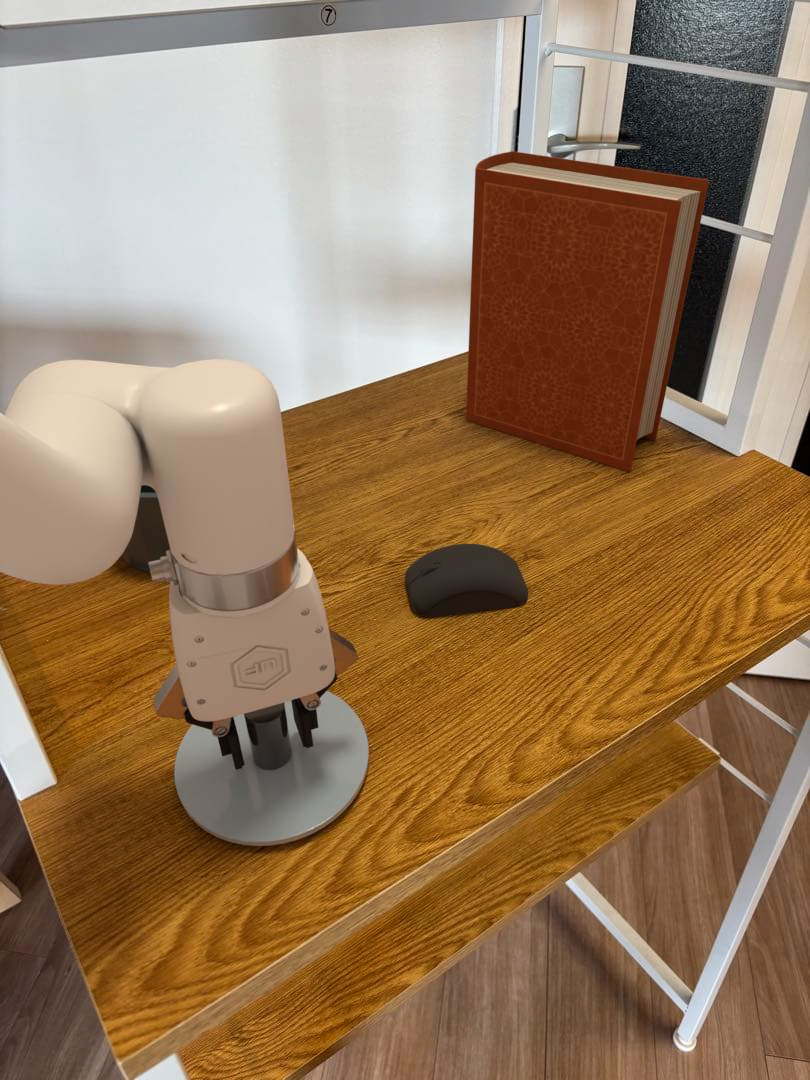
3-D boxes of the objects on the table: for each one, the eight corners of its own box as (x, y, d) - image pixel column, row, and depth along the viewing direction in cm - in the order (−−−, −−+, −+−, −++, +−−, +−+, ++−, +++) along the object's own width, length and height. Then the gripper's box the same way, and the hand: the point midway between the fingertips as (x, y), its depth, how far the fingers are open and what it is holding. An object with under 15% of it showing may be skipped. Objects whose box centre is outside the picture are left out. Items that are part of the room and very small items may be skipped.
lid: (194, 880, 57) (176, 824, 53) (164, 720, 68) (147, 664, 64) (396, 812, 61) (394, 755, 57) (337, 671, 72) (332, 615, 68)
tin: (124, 589, 80) (100, 510, 75) (111, 511, 90) (90, 436, 85) (261, 556, 84) (249, 479, 78) (235, 485, 94) (222, 411, 88)
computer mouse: (402, 575, 82) (402, 544, 79) (513, 562, 83) (516, 530, 80) (413, 619, 77) (413, 587, 74) (531, 604, 78) (535, 572, 76)
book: (655, 440, 100) (709, 180, 82) (630, 472, 95) (681, 201, 76) (490, 391, 111) (503, 149, 92) (458, 417, 105) (466, 167, 87)
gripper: (101, 634, 46) (164, 820, 58) (385, 563, 51) (392, 748, 62) (91, 554, 52) (150, 739, 63) (349, 497, 56) (361, 678, 68)
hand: (270, 742), depth 63 cm, fingers open, 4 cm apart
